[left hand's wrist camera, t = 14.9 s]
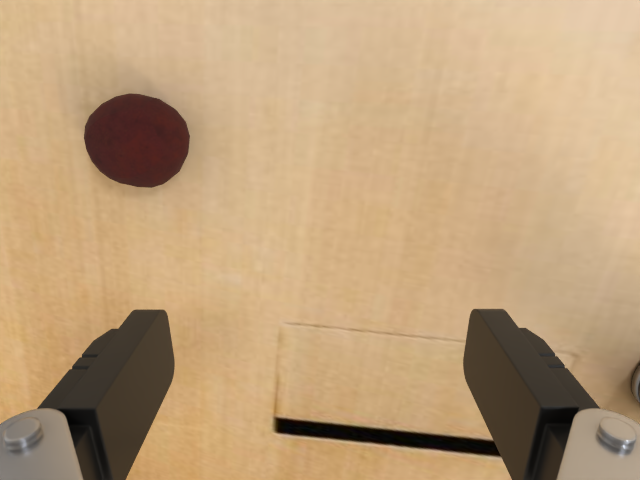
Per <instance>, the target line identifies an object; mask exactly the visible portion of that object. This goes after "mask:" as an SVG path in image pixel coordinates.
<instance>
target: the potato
mask: <svg viewBox="0 0 640 480" xmlns="http://www.w3.org/2000/svg"><path fill="white" fill-rule="evenodd" d="M189 138H190V136H189V132H188V128H187V125H186V122H185V121H184V119H183V118H182V117H181V116H180V114H179V113H178V112H177V111H176V110H175V109H174V108H172V107H171V106H169V105H168V104H166V103H164V102H163V101H161V100H160V99H157V98H152V97H148V96H144V95H140V94H126V95H121V96H117V97H114V98H112V99H110V100H109V101H107V102H105V103H103V104H102V105H100V106H99V107H98V108H97V109H96V110H95V111H94V112H93V113H92V114H91V115H90V117H89V119H88V121H87V123H86V126H85V134H84V140H85V144H86V149H87V152H88V154H89V156H90V158H91V160H92V162H93V163H94V164H95V166H96V167H97V168H98V169H99V170H100V172H102V173H103V174H104V175H106V176H107V177H108V178H110V179H112V180H114V181H117V182H119V183H122V184H127V185H132V186H136V187H155V186H158V185H162V184H164V183H165V182H167V181H168V180H169V179H171V178H172V177H173V176H174V175H175V174H177V173H178V172H179V171H180V169H181V167H182V165H183V163H184V161H185V159H186V157H187V154H188V149H189Z"/></svg>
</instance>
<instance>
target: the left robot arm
mask: <svg viewBox="0 0 640 480" xmlns="http://www.w3.org/2000/svg"><path fill="white" fill-rule="evenodd" d="M463 366H464V375H465V379H466V382H467V384H468V386H469V389H470V391H471V393H472V395H473V397H474V399H475V401H476V404H477V406H478V408H479V410H480V412H481V414H482V416H483V418H484V421H485V423H486V425H487V427H488V429H489V431H490V433H491V436H492V438H493V440H494V442H495V444H496V446H497V448H498V450H499V453H500V455H501V457H502V459H503V461H504V463H505V465H506V468H507V470H508V472H509V474H510V476H511V478H512V480H640V424H639V423H637V422H636V421H634V420H632V419H630V418H628V417H626V416H624V415H622V414H619V413H616V412H613V411H610V410H605V409H600V408H599V406H598V405H597V404H596V403H595V402H594V400H593V399H592V398H591V397H590V396H589V394H588V393H587V392H586V391H585V390H584V388H583V387H582V386H581V385H580V383H579V382H578V381H577V380H576V379H575V377H574V376H573V375H572V374H571V373H570V371H569V370H568V369H567V368H565V367H564V366H565V365H564V364H563V363H562V362H561V360H560V359H559V358H558V357H555V353H554V352H553V351H552V350H551V348H550V347H549V346H548V345H547V344H546V342H545V341H544V340H543V339H541V338H540V337H538V336H537V335H535V334H534V333H532V332H531V331H529V330H528V329H526V328H518V326H517V325H516V324H515V322H514V321H513V320H512V319H511V317H510V316H509V315H508V313H507V312H506V311H505V310H504V309H473V310H472V312H471V314H470V318H469V325H468V332H467V339H466V345H465V352H464V360H463ZM173 374H174V354H173V348H172V341H171V334H170V328H169V321H168V316H167V313H166V311H165V310H133V311H132V312H131V313H130V315H129V316H128V317H127V319H126V320H125V321H124V322H123V324H122V325H121V326H120V328H119V329H111V330H109V331H108V332H106V333H105V334H103V335H102V336H100V337H99V338H97V339H96V340H94V341H93V342H92V343H91V345H90V346H89V347H88V348H87V349H86V351H85V352H84V353H83V354H82V358H79V359H78V360H77V361H76V363H75V364H74V365H73V366H72V369H70V370H69V371H68V372H67V373H66V375H65V376H64V377H63V378H62V379H61V381H60V382H59V383H58V384H57V385H56V387H55V388H54V389H53V390H52V391H51V393H50V394H49V395H48V396H47V397H46V399H45V400H44V401H43V402H42V403H41V405H40V406H39V407H38V408H37V409H35V410H30V411H27V412H24V413H21V414H18V415H16V416H14V417H12V418H10V419H8V420H6V421H4V422H3V423H1V424H0V480H126V477H127V475H128V473H129V471H130V469H131V467H132V465H133V463H134V461H135V459H136V456H137V454H138V452H139V450H140V448H141V446H142V444H143V442H144V440H145V437H146V435H147V433H148V431H149V429H150V427H151V425H152V423H153V421H154V418H155V416H156V414H157V412H158V410H159V408H160V406H161V404H162V402H163V399H164V397H165V395H166V393H167V391H168V389H169V387H170V385H171V382H172V379H173ZM631 387H632V392H633V395H634V397H635V398H636V400H637V401H638V402H639V403H640V365H639V366H638V368H637V369H636V371H635V373H634V375H633V378H632V384H631Z"/></svg>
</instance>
